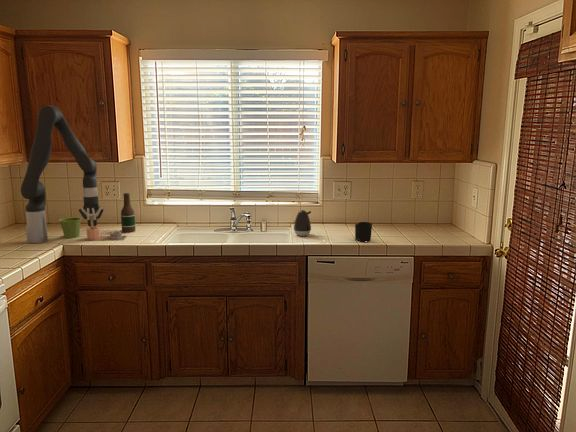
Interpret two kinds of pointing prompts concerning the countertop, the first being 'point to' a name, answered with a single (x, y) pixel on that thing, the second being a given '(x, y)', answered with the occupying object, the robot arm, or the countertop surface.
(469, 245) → the countertop surface
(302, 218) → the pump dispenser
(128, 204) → the beer bottle
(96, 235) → the terracotta cup
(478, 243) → the countertop surface
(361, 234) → the pen holder
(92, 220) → the birch dowel
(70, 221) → the plant pot
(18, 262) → the countertop surface
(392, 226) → the countertop surface
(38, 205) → the robot arm
